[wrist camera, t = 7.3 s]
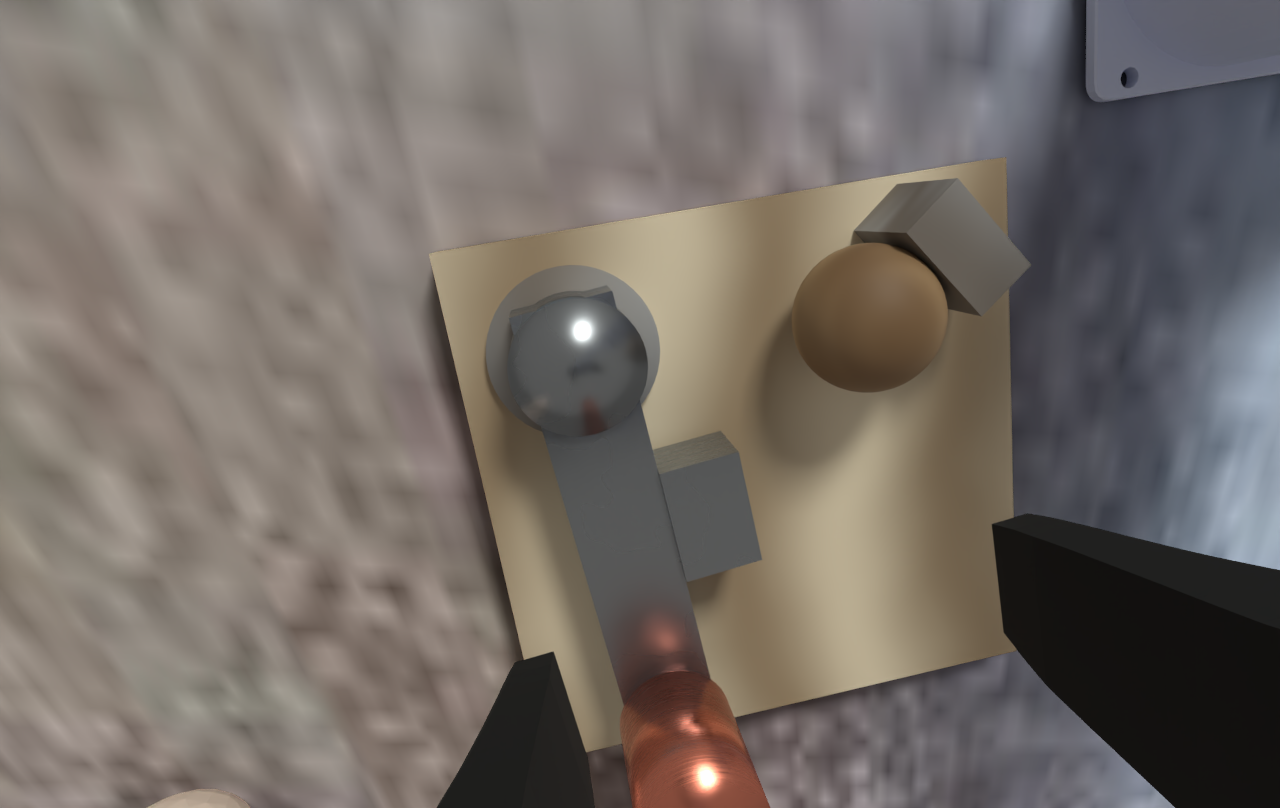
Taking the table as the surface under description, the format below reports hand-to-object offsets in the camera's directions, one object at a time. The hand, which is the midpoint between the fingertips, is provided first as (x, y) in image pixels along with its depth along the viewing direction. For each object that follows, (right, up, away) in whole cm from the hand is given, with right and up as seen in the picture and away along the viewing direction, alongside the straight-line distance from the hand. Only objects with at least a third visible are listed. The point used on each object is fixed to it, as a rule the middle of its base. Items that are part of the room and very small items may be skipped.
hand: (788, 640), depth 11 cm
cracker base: (+1, +2, +10) cm, 10 cm away
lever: (-2, +1, +8) cm, 9 cm away
